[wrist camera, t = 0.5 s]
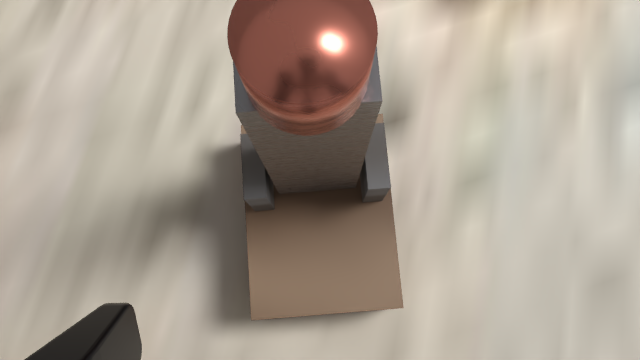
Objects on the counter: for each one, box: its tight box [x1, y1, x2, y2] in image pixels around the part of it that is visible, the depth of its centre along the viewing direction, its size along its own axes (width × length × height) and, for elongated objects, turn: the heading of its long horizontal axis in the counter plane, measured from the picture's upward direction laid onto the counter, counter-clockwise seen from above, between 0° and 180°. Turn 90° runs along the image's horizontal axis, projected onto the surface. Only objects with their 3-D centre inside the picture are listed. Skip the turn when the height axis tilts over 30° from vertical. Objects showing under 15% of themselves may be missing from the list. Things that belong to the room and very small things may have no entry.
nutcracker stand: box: [241, 114, 403, 320], centre depth 21 cm, size 8×6×6 cm
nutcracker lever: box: [228, 0, 382, 194], centre depth 15 cm, size 3×3×12 cm
